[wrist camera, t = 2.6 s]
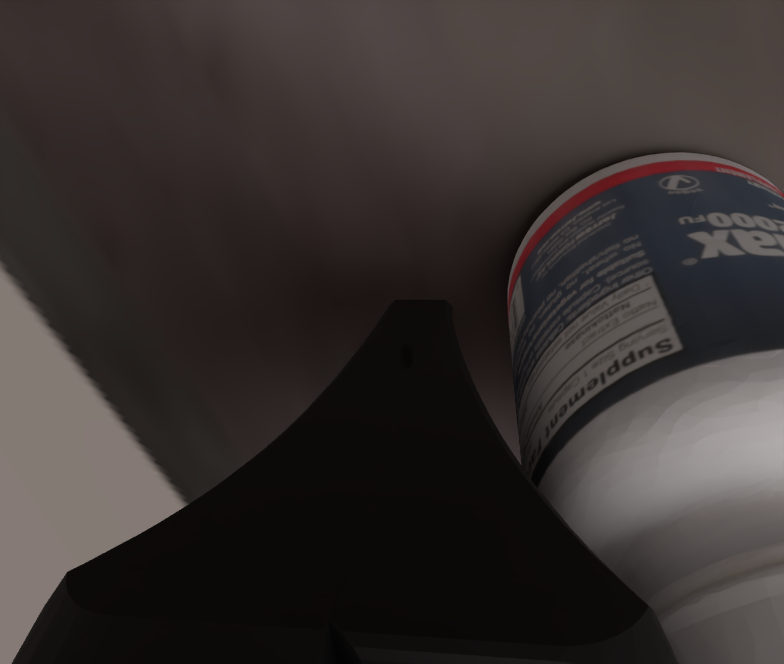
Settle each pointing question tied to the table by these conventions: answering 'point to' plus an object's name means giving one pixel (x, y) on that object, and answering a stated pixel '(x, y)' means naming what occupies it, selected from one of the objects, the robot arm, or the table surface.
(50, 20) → the table surface
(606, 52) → the table surface
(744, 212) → the pill bottle
